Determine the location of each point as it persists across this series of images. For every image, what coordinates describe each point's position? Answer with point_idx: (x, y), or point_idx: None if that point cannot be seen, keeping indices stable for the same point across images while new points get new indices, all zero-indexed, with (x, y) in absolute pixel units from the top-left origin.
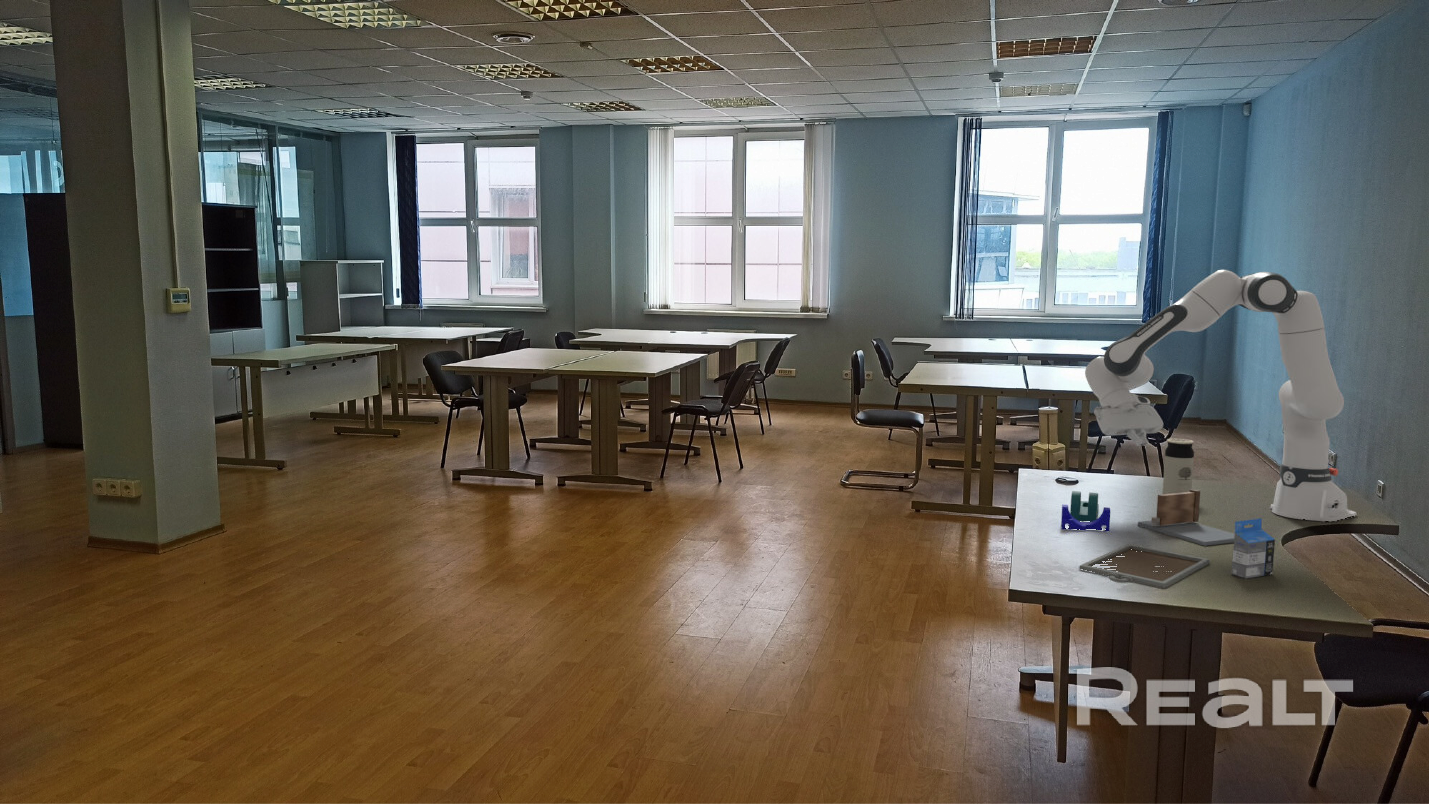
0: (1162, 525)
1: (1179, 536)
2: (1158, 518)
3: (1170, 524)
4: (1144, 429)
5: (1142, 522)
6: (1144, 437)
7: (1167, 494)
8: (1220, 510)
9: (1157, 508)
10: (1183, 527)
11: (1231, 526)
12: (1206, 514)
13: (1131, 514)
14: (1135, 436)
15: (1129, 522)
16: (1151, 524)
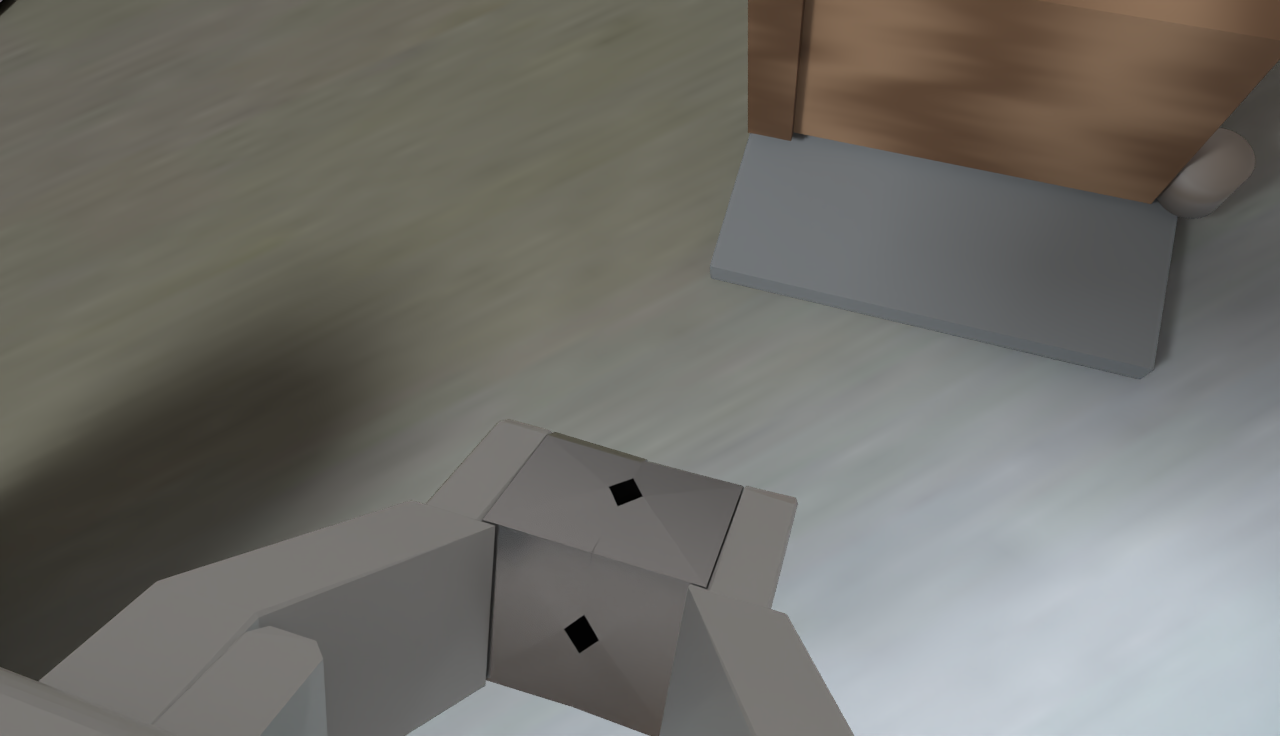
0: (1075, 193)
1: None
2: (1218, 133)
3: (984, 177)
4: (43, 680)
5: (1136, 336)
6: (489, 513)
7: (1166, 4)
8: (99, 272)
9: (1219, 123)
10: None
11: (547, 3)
12: (309, 265)
13: (804, 637)
14: (812, 695)
15: (1104, 481)
16: (1219, 205)
